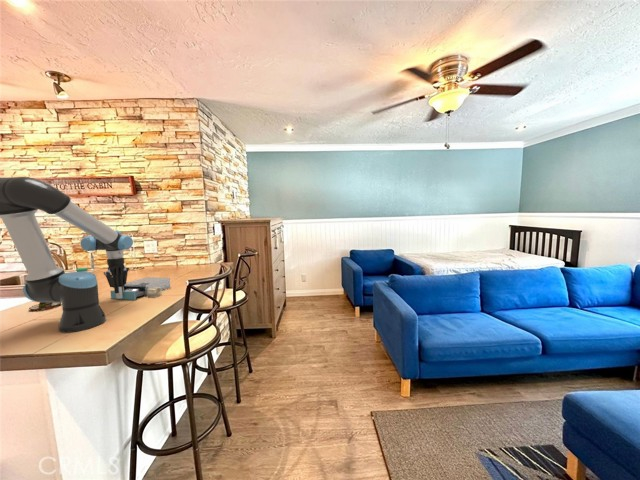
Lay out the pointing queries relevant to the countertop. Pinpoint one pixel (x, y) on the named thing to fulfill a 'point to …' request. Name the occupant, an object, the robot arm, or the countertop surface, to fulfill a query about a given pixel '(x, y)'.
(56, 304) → the burger
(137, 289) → the disc
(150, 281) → the box
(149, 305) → the countertop surface
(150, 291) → the block
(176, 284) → the countertop surface
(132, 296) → the tray
